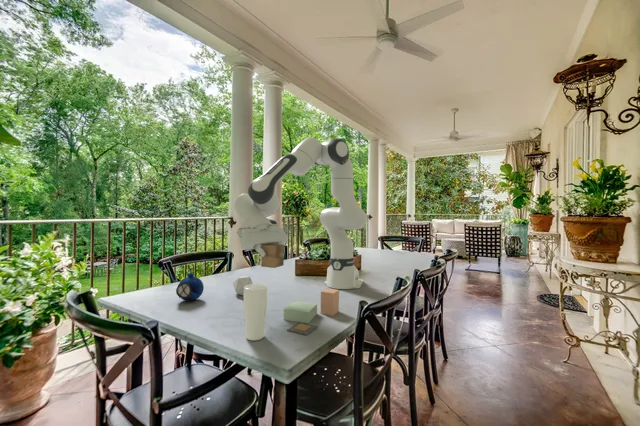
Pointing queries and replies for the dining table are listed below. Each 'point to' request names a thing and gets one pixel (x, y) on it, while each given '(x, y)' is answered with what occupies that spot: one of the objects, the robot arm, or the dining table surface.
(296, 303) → the sage base block
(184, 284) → the bomb
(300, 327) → the card
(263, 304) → the drinking glass
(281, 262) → the walnut block
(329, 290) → the terracotta block
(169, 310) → the dining table surface
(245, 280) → the die
